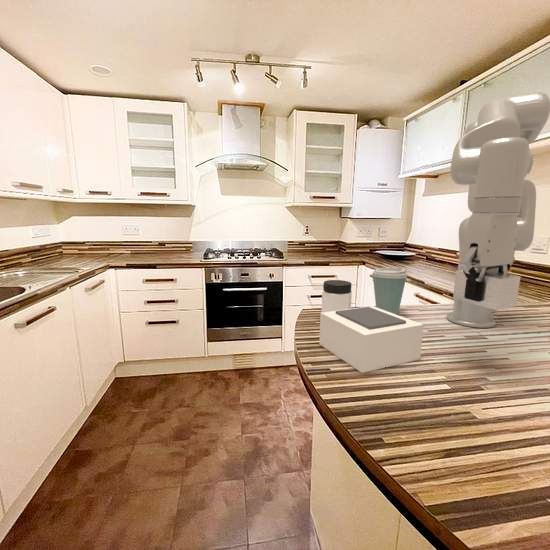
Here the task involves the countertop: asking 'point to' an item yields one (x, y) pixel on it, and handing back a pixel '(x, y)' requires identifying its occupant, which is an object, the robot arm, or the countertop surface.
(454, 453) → the countertop surface
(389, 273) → the disposable coffee cup
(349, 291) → the jar
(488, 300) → the housing
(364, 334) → the stand
